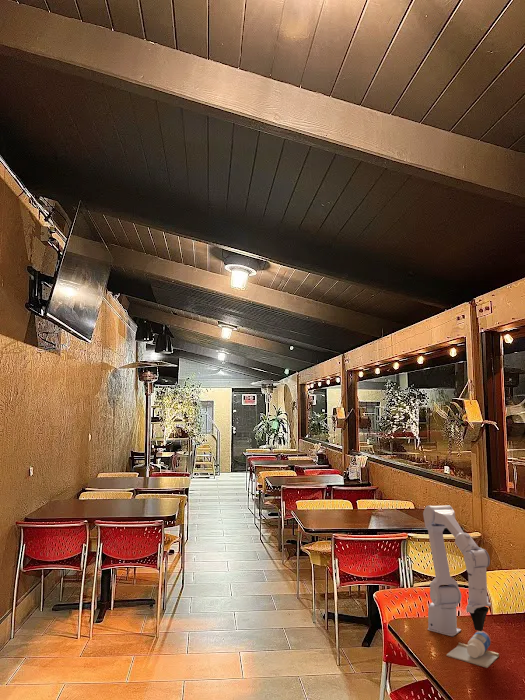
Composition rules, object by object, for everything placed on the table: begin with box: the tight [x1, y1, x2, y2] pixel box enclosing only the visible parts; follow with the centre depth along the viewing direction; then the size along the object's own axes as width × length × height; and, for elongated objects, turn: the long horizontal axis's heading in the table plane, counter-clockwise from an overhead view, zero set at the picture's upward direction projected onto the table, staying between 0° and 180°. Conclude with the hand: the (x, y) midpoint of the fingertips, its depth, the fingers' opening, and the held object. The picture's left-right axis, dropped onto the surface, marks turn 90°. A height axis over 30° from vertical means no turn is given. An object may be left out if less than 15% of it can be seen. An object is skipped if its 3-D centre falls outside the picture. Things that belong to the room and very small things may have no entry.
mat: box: [446, 644, 499, 669], centre depth 182 cm, size 13×10×1 cm
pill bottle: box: [467, 630, 492, 658], centre depth 183 cm, size 6×5×10 cm
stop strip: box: [457, 642, 500, 658], centre depth 186 cm, size 13×1×1 cm, turn 49°
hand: (478, 630), depth 185 cm, fingers closed
